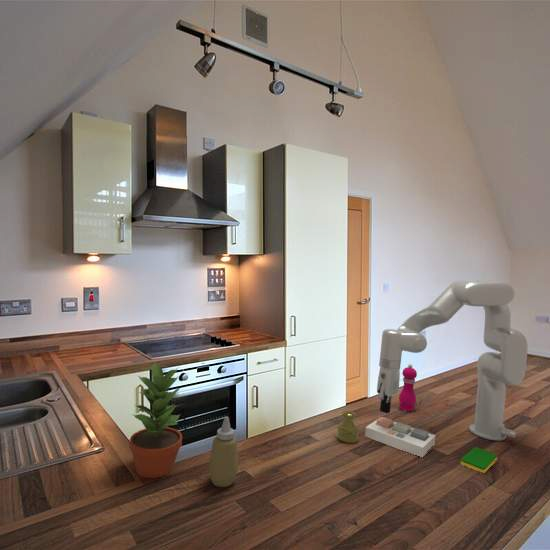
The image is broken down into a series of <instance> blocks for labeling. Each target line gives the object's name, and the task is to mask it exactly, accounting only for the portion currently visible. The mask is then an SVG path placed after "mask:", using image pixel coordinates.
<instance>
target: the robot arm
mask: <svg viewBox="0 0 550 550" xmlns="http://www.w3.org/2000/svg"><path fill="white" fill-rule="evenodd" d="M514 298H515V289H514V287H513V286H512V285H511V284H510V283H508V282H504V281H499V280H498V281H497V280H489V279H479V280H475V282H473V281H472V282H471V281H466V280H465V281H464V280H457V281H456V280H455V281H454V282H452V283H450V284H449V286H447V287H446V288H445V289H444V291H442V292H441V294H439V296H438V297H436V299H435V300H433V301H432V303H430V305H428V306H427V307H425V308H423V309H421V310H419V311H417V312H415V313H414V314H413V315H411V316H409V317H408V318H407V319H406V320H405V321H404V322H402V324H401V325H400V326H399V327H398V328H397V329H394V328H393V329H392V328H386V329H384V330H383V331H382V335H381V343H380V354H379V363H378V366H379V371H378V377H377V383H376V384H377V385H376V392H377V395H378V399H379V400H380V409H379V411H380V412H381V413H384V414H390V412H391V405H392V404H391V403H392V400H393V396H394V395H396V394H398V392H399V390H400V377H401V376H400V375H401V365H402V364H401V363H402V356H403V355H402V353H403V352H407V353H408V352H409V353H415V354H416V353H417V354H418V353H419V354H420V353H422V352H424V351H425V350H426V348H427V346H428V341H427V338H426V336H424V335H423V334H421V332H422V331H424V330H425V329H427V328H430V327H433V326H438V325H442V324H443V325H444V324H445V323H448V322H449V321H450V320H451V319H452V318H453V317H454V315H456V314H457V313H458V312H459V310H461V309H462V308H463V307H464V306H470V307H483V309H484V328H483V343H484V344H485V346H486V347H487V348H489V349H491V350H494V351H496V352H492V351H488V352H487V351H486V352H484V353H482V354H480V356H479V357H478V359H477V362H476V363H477V365H476V366H477V368H476V369H477V376H478V377H477V392H476V400H475V402H476V405H475V415H474V423H472V424H469V431H470V432H471V433H472V434H474V435H475V436H477V437H480V438H482V439H486V440H489V441H490V440H491V441H497V442H498V441H499V442H500V441H505V440H506V439H507V436H508V437H510V438H513V439H515V437H516V432H514V431H513V430H512V429H508V428H506V427H505V423H504V414H505V413H504V412H505V404H506V397H507V395H506V393H507V391H506V390H507V389H506V385H507V386H510V387H511V386H514V387H515V386H517V385H519V384H521V383H522V382H523V380H524V378H525V375H526V370H527V369H526V367H527V360H528V359H527V358H528V357H527V356H528V342H527V341H528V340H527V338H526V336H525V334H524V333H522V332H521V331H519V330H517V329H514V328H511V309H510V306H509V304H510V303H511V302H513V300H514ZM498 352H499V353H498ZM500 353H501V354H500Z"/></svg>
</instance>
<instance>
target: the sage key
mask: <svg viewBox="0 0 550 550" xmlns="http://www.w3.org/2000/svg"><path fill="white" fill-rule="evenodd" d="M393 430H394V431H397V432H400V433H403V434H405V435H407V434H408V433H409V432H410V430H411V425H409V424H405V423H402V422H397V424H395V425H394V426H393Z"/></svg>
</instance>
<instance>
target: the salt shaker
mask: <svg viewBox="0 0 550 550" xmlns="http://www.w3.org/2000/svg"><path fill="white" fill-rule="evenodd" d="M341 414H342V417H344V420H342V421H341V422H339V423H338V424H337V431H336V439H337V440H338V441H341V442H343V443H348V444H353V443H357V442H358V439H359V434H358V432H359V430H360V429H359V426H358V425H357V424H356V423H355V422H354V421H353V420H354V419H355V418H357V414H356V413H355V412H353V410H350V409H349V410H345V411H342V413H341Z"/></svg>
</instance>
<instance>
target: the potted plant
mask: <svg viewBox="0 0 550 550" xmlns="http://www.w3.org/2000/svg"><path fill="white" fill-rule="evenodd" d="M150 367H151V368H150V369H151V375H152V376H151V377H152V379H150V378H148V377H146V376H140V375H138V378H139V381H141V382H142V383H143V384H144V385H145V386H146V387H147V388H144V387H141V389H142V390H141V391H140V392H139V391H138V393H139V394H142V395H143V396H145V398H146V400H147V401H148V402H149V404H150V405H151V408H149V407H147V406H146V405H143V404H139V405H136V404H134V406H135V407H137V408H138V409H139V410H141V411H143V412H144V413H146V414H147V415H146V414H142V413H139V414H134V413H133V414H132V413H131V414H132V416H134V418H135V419H137V420H139V421H141V423H142V425H143V426H144V428H143V429H140V430H138V431H136V432H134V433H133V434H132V435H131V436H130V438H129V445H128V446H129V449H130V452H131V453H132V458H133V461H134V462H133V464H134V467H135V470H136V473H137V474H138V475H139V476H140V477H142V478H143V477H144V478H148V479H154V478H160V477H164V476H166V475H168V474H170V473H171V472H172V470H173V469H174V465H175V462H176V459H177V456H178V454H179V450H180V449H181V447H183V434H182V432H181V431H179V430H177V429H176V428H174V427H173V428H172V427H169V426H174V425H178V421H177V420H179V418H180V416H181V415H182V414H181V413H180V414H177V415H176V414H172V412H173V411H174V410H175V408H176V407H177V405H176V404H175V403H173V404H172V405H168V404H169V402H170V400H172V398H173V397H174V396H175V395H176V394H177V393H178V391H180V389H181V387H179V388H176V389H175V390H173V391H169V389H170V387H172V385H174V383H176V381H178V378H179V377H180V375H178V376H176V377H173V376H174V375H175V374H176V373H177V370H178V369H179V367H177V368H176V369H170V370H169V371H167V372H166V373H165V374H164V371H163V369H162V366H161V365H160V364H157V363H156V361H155V360H154V362H153V364H152V365H151V366H150ZM148 415H149V416H148ZM150 416H151V417H150Z"/></svg>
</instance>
